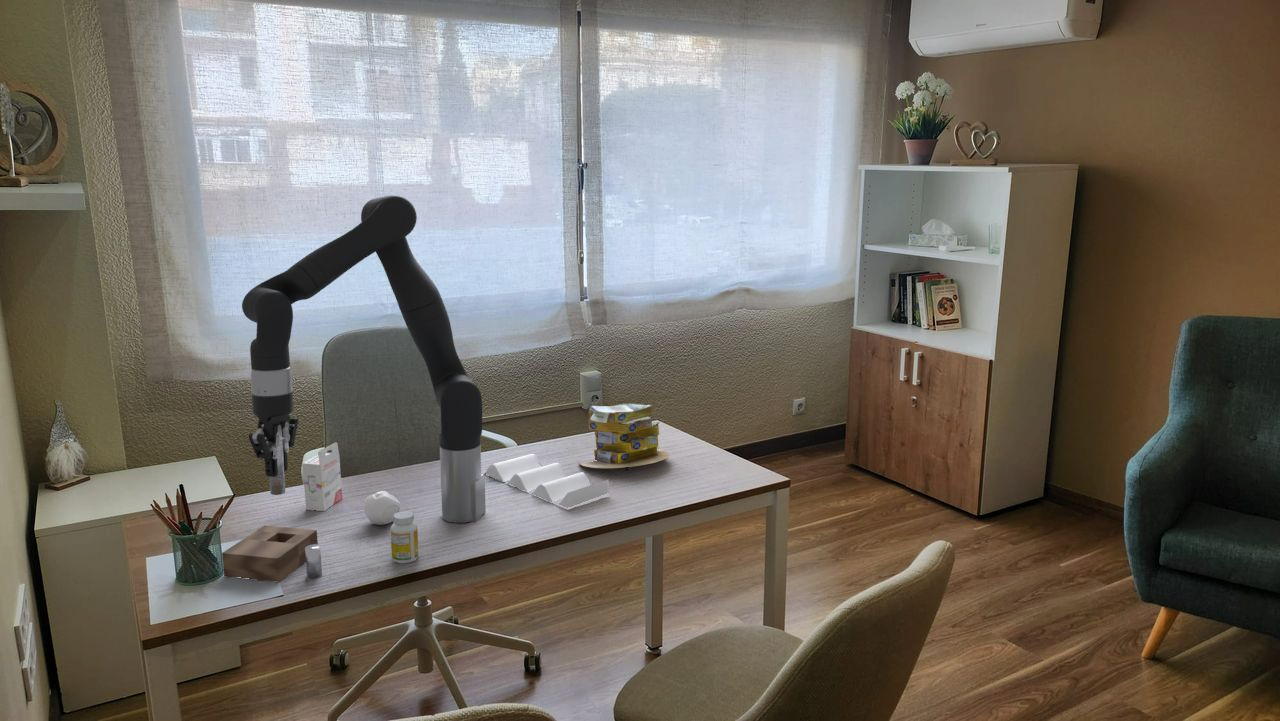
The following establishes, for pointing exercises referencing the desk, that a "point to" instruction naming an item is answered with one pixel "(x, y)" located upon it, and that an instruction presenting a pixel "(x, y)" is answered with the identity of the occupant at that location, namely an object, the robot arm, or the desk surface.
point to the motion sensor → (381, 507)
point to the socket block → (268, 553)
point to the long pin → (279, 481)
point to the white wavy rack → (547, 480)
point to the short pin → (313, 561)
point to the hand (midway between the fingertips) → (277, 473)
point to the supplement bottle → (404, 538)
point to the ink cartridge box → (322, 479)
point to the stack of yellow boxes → (624, 436)
